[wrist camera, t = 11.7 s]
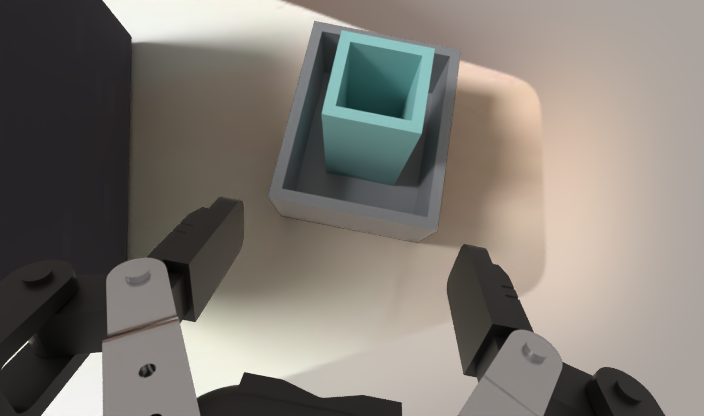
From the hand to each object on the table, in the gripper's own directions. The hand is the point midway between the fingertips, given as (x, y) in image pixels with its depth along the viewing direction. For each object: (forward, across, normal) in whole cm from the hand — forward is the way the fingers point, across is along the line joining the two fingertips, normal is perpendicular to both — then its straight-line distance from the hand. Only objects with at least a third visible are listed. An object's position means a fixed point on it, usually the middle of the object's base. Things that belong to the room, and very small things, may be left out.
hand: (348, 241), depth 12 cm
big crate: (+20, 0, +4) cm, 20 cm away
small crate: (+19, 0, +3) cm, 19 cm away
